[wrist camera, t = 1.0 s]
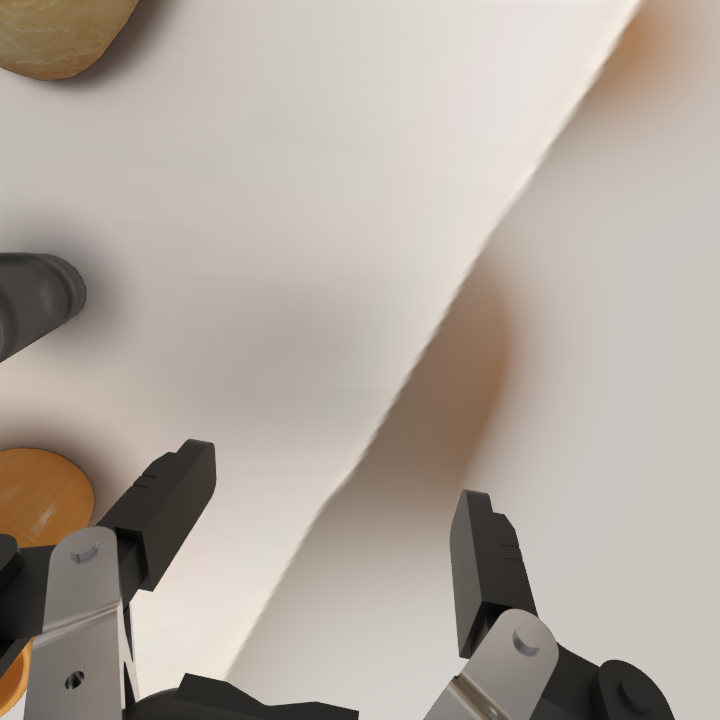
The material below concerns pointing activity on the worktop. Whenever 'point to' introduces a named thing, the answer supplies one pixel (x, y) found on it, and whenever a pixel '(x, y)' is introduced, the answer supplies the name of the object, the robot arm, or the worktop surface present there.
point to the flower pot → (38, 524)
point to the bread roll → (58, 34)
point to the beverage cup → (35, 298)
